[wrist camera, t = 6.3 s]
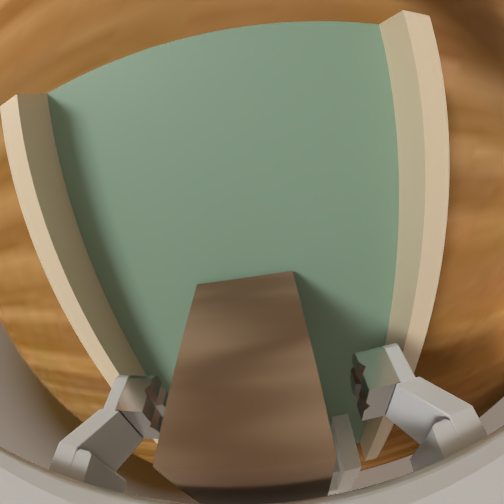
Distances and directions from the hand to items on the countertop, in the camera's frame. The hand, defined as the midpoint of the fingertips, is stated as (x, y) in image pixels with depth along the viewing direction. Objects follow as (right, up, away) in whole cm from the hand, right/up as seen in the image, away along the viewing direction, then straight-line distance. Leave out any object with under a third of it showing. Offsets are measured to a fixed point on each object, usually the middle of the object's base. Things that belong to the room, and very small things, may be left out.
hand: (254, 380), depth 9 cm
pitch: (0, 0, +5) cm, 5 cm away
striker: (0, -1, +4) cm, 4 cm away
